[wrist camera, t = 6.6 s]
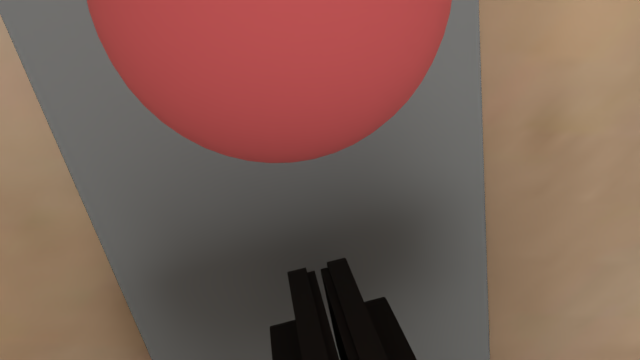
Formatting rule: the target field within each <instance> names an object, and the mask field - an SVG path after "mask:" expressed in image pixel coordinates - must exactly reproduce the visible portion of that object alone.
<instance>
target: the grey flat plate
mask: <svg viewBox="0 0 640 360" xmlns="http://www.w3.org/2000/svg"><path fill="white" fill-rule="evenodd" d="M0 14H1V17H2V19H3V21H4V24H5V26H6V28H7V30H8V33H9V35H10V37H11V39H12V42H13V44H14V46H15V49H16V51H17V53H18V55H19V58H20V60H21V62H22V65H23V67H24V69H25V71H26V74H27V76H28V78H29V81H30V83H31V85H32V87H33V90H34V92H35V94H36V97H37V99H38V101H39V103H40V106H41V108H42V110H43V113H44V115H45V117H46V119H47V122H48V124H49V126H50V128H51V131H52V133H53V135H54V138H55V140H56V142H57V144H58V147H59V149H60V151H61V154H62V156H63V158H64V160H65V163H66V165H67V167H68V170H69V172H70V174H71V176H72V179H73V181H74V183H75V186H76V188H77V190H78V192H79V195H80V197H81V199H82V201H83V204H84V206H85V208H86V211H87V213H88V215H89V217H90V220H91V222H92V224H93V227H94V229H95V231H96V233H97V236H98V238H99V240H100V243H101V245H102V247H103V249H104V252H105V254H106V256H107V259H108V261H109V263H110V265H111V268H112V270H113V272H114V275H115V277H116V279H117V281H118V284H119V286H120V288H121V290H122V293H123V295H124V297H125V300H126V302H127V304H128V306H129V309H130V311H131V313H132V316H133V318H134V320H135V322H136V325H137V327H138V329H139V332H140V334H141V336H142V338H143V341H144V343H145V345H146V348H147V350H148V352H149V354H150V357H151V359H152V360H272V350H271V339H270V326H273V325H277V324H281V323H284V322H288V321H292V320H295V315H294V309H293V303H292V298H291V292H290V286H289V280H288V274H287V272H289V271H293V270H297V269H301V268H305V267H306V270H307V272H311V271H315V274H316V277H317V281H318V285H319V288H320V292H321V295H322V299H323V303H324V306H325V310H326V313H327V317H328V320H329V324H330V328H331V331H332V335H333V338H334V342H335V346H336V349H337V345H336V341H335V336H334V331H333V326H332V322H331V317H330V312H329V308H328V303H327V298H326V293H325V289H324V284H323V279H322V275H321V269H323V268H327V262H329V261H333V260H337V259H341V258H346V260H347V262H348V265H349V267H350V269H351V272H352V274H353V277H354V279H355V281H356V284H357V286H358V289H359V291H360V293H361V296H362V298H363V301H364V302H365V301H369V300H373V299H377V298H381V297H385V298H386V299H387V301H388V303H389V305H390V307H391V309H392V311H393V313H394V315H395V317H396V319H397V321H398V323H399V325H400V327H401V329H402V331H403V333H404V335H405V337H406V339H407V341H408V343H409V345H410V347H411V349H412V351H413V353H414V355H415V357H416V359H417V360H490V350H489V318H488V286H487V254H486V222H485V191H484V159H483V127H482V95H481V63H480V31H479V0H452V3H451V10H450V15H449V18H448V22H447V26H446V29H445V33H444V36H443V39H442V41H441V44H440V46H439V49H438V51H437V54H436V56H435V58H434V60H433V63H432V64H431V66H430V68H429V70H428V72H427V73H426V75H425V77H424V79H423V81H422V82H421V84H420V85H419V86H418V88H417V89H416V91H415V92H414V93H413V95H412V96H411V97H410V99H409V100H408V101H407V102H406V103H405V104H404V105H403V106H402V107H401V109H400V110H399V111H398V112H397V113H396V114H395V115H394V116H393V117H392V118H390V119H389V120H388V121H387V122H385V123H384V124H383V125H382V126H381V127H379V128H378V129H377V130H376V131H374V132H373V133H371V134H370V135H368V136H367V137H365V138H363V139H362V140H360V141H359V142H357V143H355V144H353V145H351V146H349V147H347V148H345V149H342V150H340V151H338V152H336V153H333V154H329V155H326V156H323V157H319V158H316V159H311V160H305V161H299V162H293V163H264V162H254V161H246V160H242V159H238V158H234V157H229V156H225V155H223V154H220V153H217V152H215V151H212V150H209V149H206V148H204V147H202V146H200V145H198V144H196V143H194V142H192V141H190V140H189V139H187V138H185V137H183V136H181V135H180V134H178V133H177V132H176V131H174V130H173V129H171V128H170V127H168V126H167V125H166V124H164V123H163V122H162V121H160V120H159V119H158V118H157V117H156V116H155V115H154V114H153V113H152V112H150V111H149V110H148V109H147V108H146V107H145V106H144V105H143V104H142V103H141V102H140V101H139V99H138V98H137V97H136V96H135V95H134V94H133V93H132V91H131V90H130V89H129V88H128V87H127V85H126V84H125V82H124V81H123V79H122V78H121V76H120V75H119V73H118V72H117V70H116V69H115V67H114V66H113V64H112V62H111V61H110V59H109V57H108V55H107V53H106V51H105V49H104V47H103V45H102V43H101V41H100V39H99V37H98V35H97V32H96V29H95V26H94V23H93V20H92V18H91V15H90V12H89V8H88V4H87V0H0ZM337 353H338V349H337ZM338 356H339V353H338ZM339 360H340V357H339Z"/></svg>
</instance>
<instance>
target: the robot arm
mask: <svg viewBox="0 0 640 360" xmlns="http://www.w3.org/2000/svg"><path fill="white" fill-rule="evenodd" d="M287 274H288V280H289V286H290V292H291V298H292V303H293V309H294V315H295V320H292V321H288V322H284V323H281V324H277V325H273V326H270V339H271V350H272V360H339V357H340V360H417V359H416V357H415V355H414V353H413V351H412V349H411V347H410V345H409V343H408V341H407V339H406V337H405V335H404V333H403V331H402V329H401V327H400V325H399V323H398V321H397V319H396V317H395V315H394V313H393V311H392V309H391V307H390V305H389V303H388V301H387V299H386V298H385V297H381V298H377V299H373V300H369V301H365V302H364V301H363V298H362V296H361V293H360V291H359V289H358V286H357V284H356V281H355V279H354V277H353V274H352V272H351V269H350V267H349V265H348V262H347V260H346V258H341V259H337V260H333V261H329V262H327V268H323V269H321V275H322V279H323V284H324V289H325V293H326V298H327V303H328V308H329V312H330V317H331V322H332V326H333V331H334V336H335V341H336V345H337V349H338V353H339V356H338V353H337V349H336V346H335V342H334V338H333V335H332V331H331V328H330V324H329V320H328V317H327V313H326V310H325V306H324V303H323V299H322V295H321V292H320V288H319V285H318V281H317V277H316V274H315V271H311V272H307V270H306V267H305V268H301V269H297V270H293V271H289V272H287Z"/></svg>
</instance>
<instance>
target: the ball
mask: <svg viewBox="0 0 640 360" xmlns="http://www.w3.org/2000/svg"><path fill="white" fill-rule="evenodd" d="M451 3H452V0H87V4H88V8H89V12H90V15H91V18H92V20H93V23H94V26H95V29H96V32H97V35H98V37H99V39H100V41H101V43H102V45H103V47H104V49H105V51H106V53H107V55H108V57H109V59H110V61H111V62H112V64H113V66H114V67H115V69H116V70H117V72H118V73H119V75H120V76H121V78H122V79H123V81H124V82H125V84H126V85H127V87H128V88H129V89H130V90H131V91H132V93H133V94H134V95H135V96H136V97H137V98H138V99H139V101H140V102H141V103H142V104H143V105H144V106H145V107H146V108H147V109H148V110H149V111H150V112H152V113H153V114H154V115H155V116H156V117H157V118H158V119H159V120H160V121H162V122H163V123H164V124H166V125H167V126H168V127H170V128H171V129H173V130H174V131H176V132H177V133H178V134H180V135H181V136H183V137H185V138H187V139H189V140H190V141H192V142H194V143H196V144H198V145H200V146H202V147H204V148H206V149H209V150H212V151H215V152H217V153H220V154H223V155H225V156H229V157H234V158H238V159H242V160H246V161H254V162H264V163H293V162H299V161H305V160H311V159H316V158H319V157H323V156H326V155H329V154H333V153H336V152H338V151H340V150H342V149H345V148H347V147H349V146H351V145H353V144H355V143H357V142H359V141H360V140H362V139H363V138H365V137H367V136H368V135H370V134H371V133H373V132H374V131H376V130H377V129H378V128H379V127H381V126H382V125H383V124H384V123H385V122H387V121H388V120H389V119H390V118H392V117H393V116H394V115H395V114H396V113H397V112H398V111H399V110H400V109H401V107H402V106H403V105H404V104H405V103H406V102H407V101H408V100H409V99H410V97H411V96H412V95H413V93H414V92H415V91H416V89H417V88H418V86H419V85H420V84H421V82H422V81H423V79H424V77H425V75H426V73H427V72H428V70H429V68H430V66H431V64H432V63H433V60H434V58H435V56H436V54H437V51H438V49H439V46H440V44H441V41H442V39H443V36H444V33H445V29H446V26H447V22H448V18H449V15H450V10H451Z"/></svg>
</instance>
